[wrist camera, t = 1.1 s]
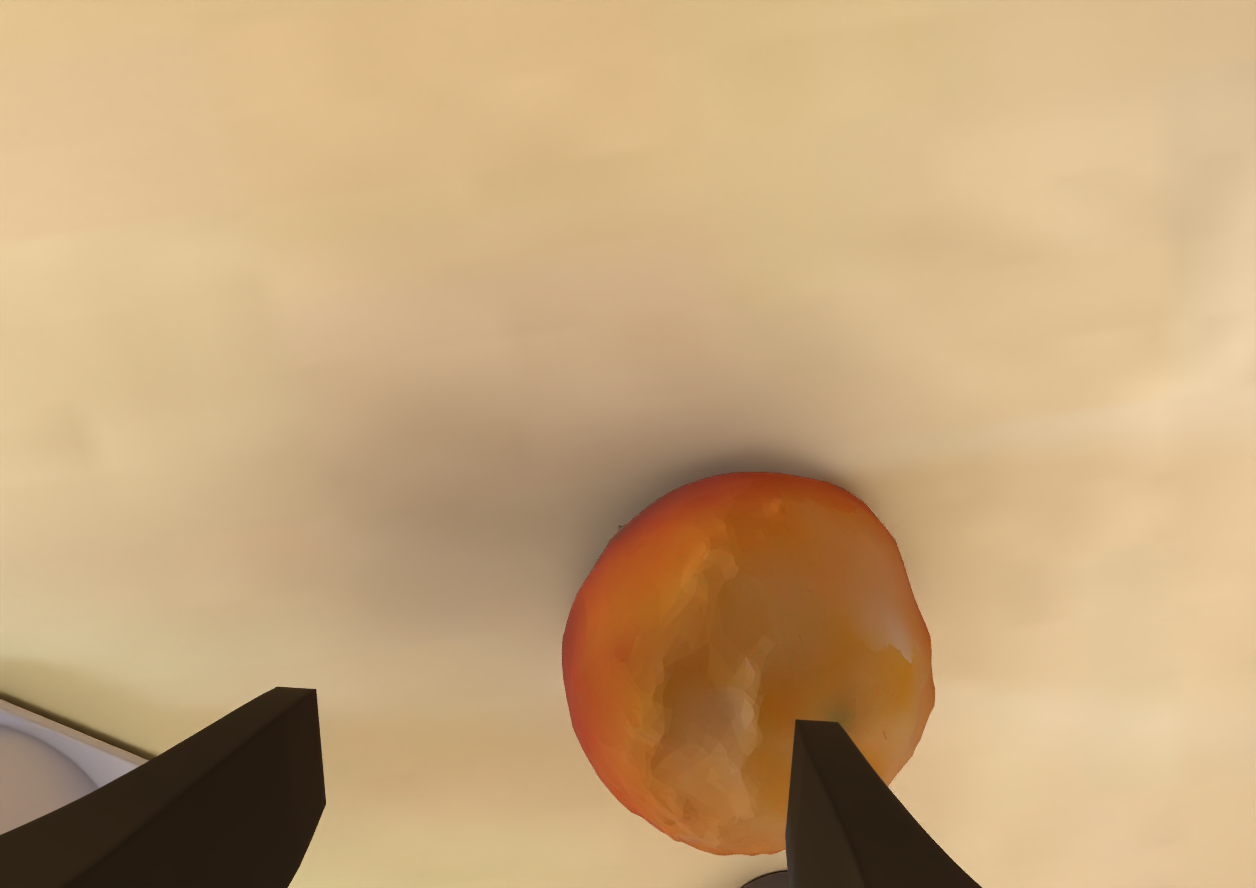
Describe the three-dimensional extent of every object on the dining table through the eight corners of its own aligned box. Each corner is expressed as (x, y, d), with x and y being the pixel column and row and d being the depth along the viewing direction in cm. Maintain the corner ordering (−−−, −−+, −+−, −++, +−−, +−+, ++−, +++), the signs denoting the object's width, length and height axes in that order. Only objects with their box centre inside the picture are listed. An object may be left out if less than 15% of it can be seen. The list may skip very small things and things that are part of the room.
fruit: (476, 475, 21) (631, 594, 14) (756, 407, 24) (997, 476, 17) (524, 770, 23) (678, 1001, 16) (775, 671, 26) (994, 828, 19)
